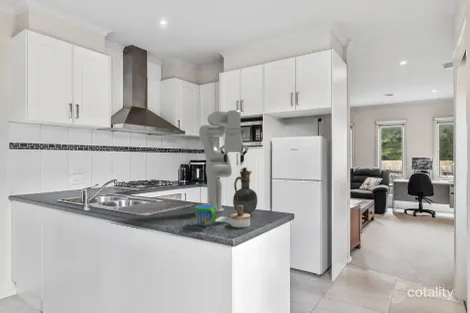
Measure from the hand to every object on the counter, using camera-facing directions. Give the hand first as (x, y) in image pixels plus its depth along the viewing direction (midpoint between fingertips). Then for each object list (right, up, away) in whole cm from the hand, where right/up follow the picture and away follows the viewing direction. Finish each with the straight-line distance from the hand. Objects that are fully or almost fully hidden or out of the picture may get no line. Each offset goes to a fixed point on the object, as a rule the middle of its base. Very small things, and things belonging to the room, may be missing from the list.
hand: (233, 162), depth 167 cm
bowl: (+3, -33, -11) cm, 35 cm away
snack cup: (-15, -34, -10) cm, 38 cm away
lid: (+3, -29, -11) cm, 31 cm away
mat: (-4, -33, +1) cm, 34 cm away
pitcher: (+6, -33, +12) cm, 36 cm away
